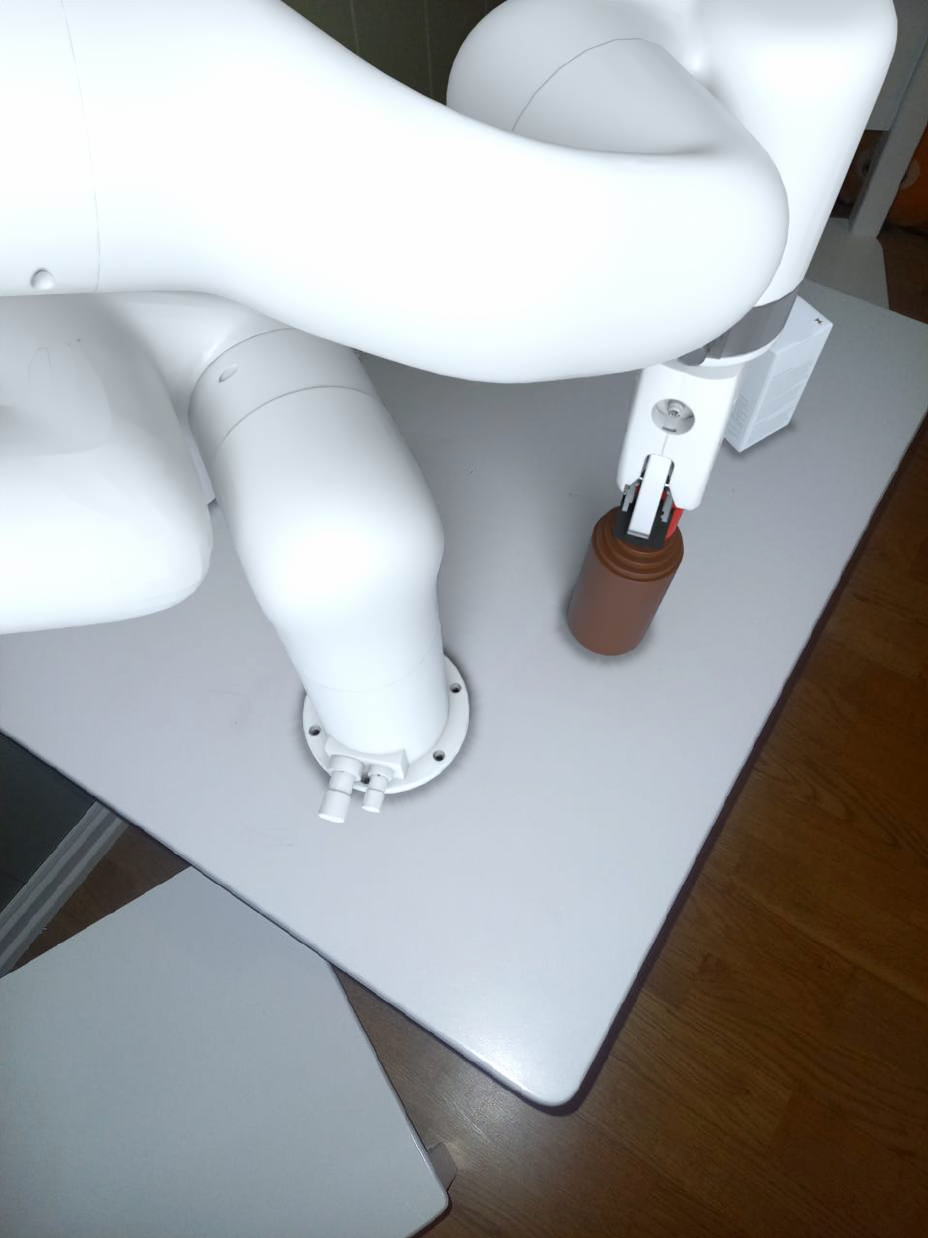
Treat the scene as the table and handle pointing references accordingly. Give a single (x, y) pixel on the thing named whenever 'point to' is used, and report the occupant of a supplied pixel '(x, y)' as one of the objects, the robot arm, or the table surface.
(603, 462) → the table surface
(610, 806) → the table surface
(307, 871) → the table surface
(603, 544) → the sauce bottle
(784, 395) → the cosmetic box
